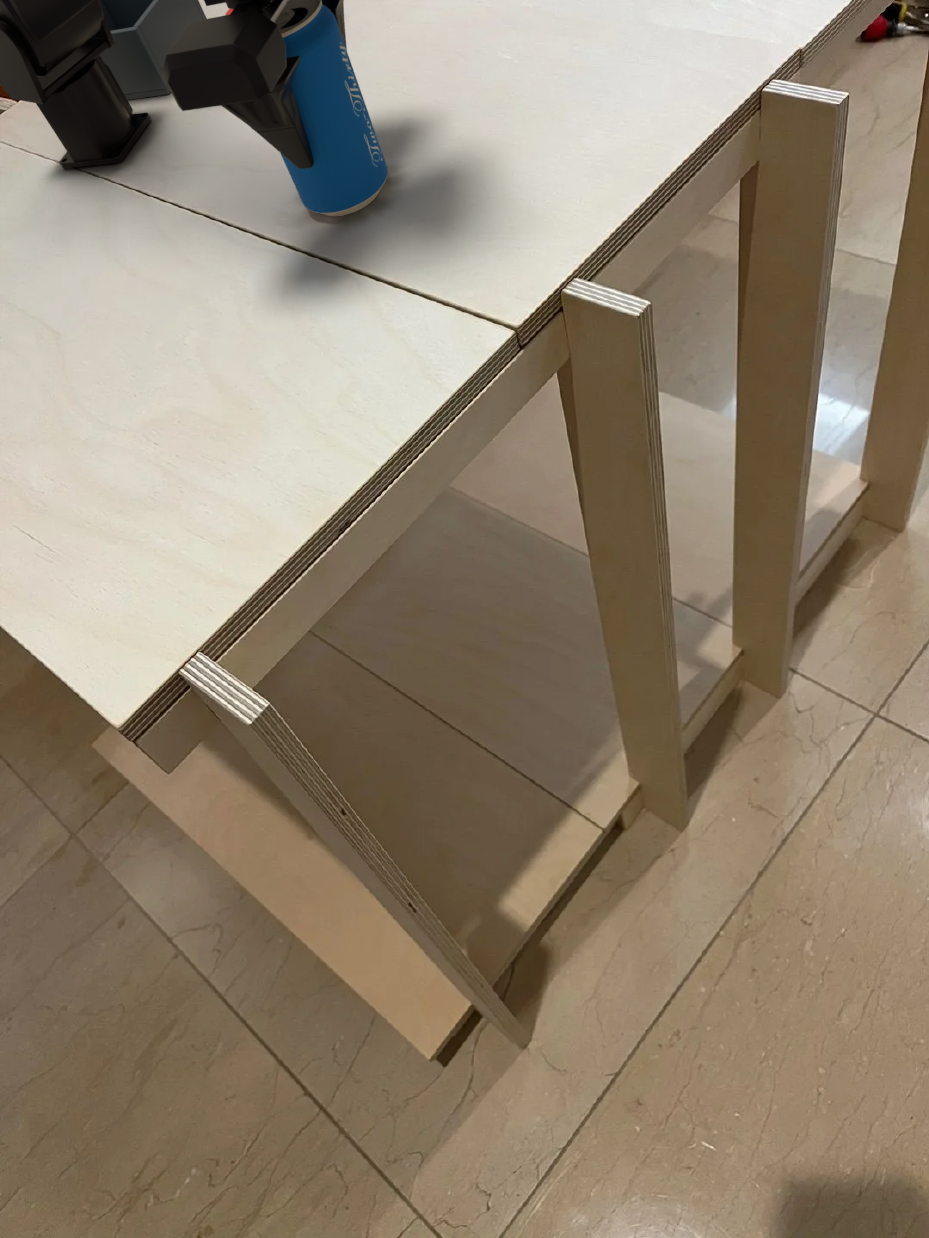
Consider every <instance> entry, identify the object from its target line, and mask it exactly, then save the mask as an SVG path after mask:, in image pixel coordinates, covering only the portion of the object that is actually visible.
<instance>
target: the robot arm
mask: <svg viewBox="0 0 929 1238" xmlns="http://www.w3.org/2000/svg"><path fill="white" fill-rule="evenodd" d="M288 1H289V0H203V2H204V4H205V6H206V7H209V6H215V5H220V4H226V7H227V9H228V10H229V9H233V11H232V12H231V14H230V15H221V16H215V17H210V18H207V19H204V20H199V21H193V22H190V23H189V25H188V26H187V27H186V29H185V30H184V31H183V33H182V34H181V35H180V37H179V38H178V39H177V41H176V42H175V44H174V45H173V46H172V48H171V49H170V50H169V52H168V53H167V54H166V57H165V62H164V66H163V70H162V76H163V78H164V80H165V82H166V84H167V85H168V87H169V89H170V91H171V93H170V94H171V95H172V97H173V99H174V101H175V103H176V104H177V106H178V108H179V109H180V110H181V111H182V112H184V111H185V112H187V111H193V110H199V109H200V110H201V109H207V108H212V107H222V108H223V109H225V110H227V111H228V112H229V113H230V114H232V115H234V116H235V117H236V118H238V119H239V120H240V121H242V122H243V123H244V124H246V125H247V126H248V127H250V128H251V130H253V131H254V132H255V133H257V134H258V135H259V136H260V137H262V139H264V140H265V141H266V142H267V143H269V144H270V146H272V147H273V148H274V149H275V150H276V151H278V152H279V153H280V155H281V154H282V155H284V156H285V157H286V158H287V159H288V160H289V161H291V162H292V163H293V164H294V165H295V166H296V167H298V168H299V169H306V168H312V166H313V165H314V159H313V155H312V151H311V147H310V143H309V140H308V137H307V134H306V131H305V128H304V125H303V122H302V118H301V115H300V112H299V109H298V106H297V103H296V100H295V97H294V94H293V91H292V87H291V84H292V81H293V78H294V75H295V73H296V70H297V67H298V65H299V62H300V56H293V57H287V58H286V44H285V42H284V39H283V37H282V35H281V32H280V30H279V27H278V25H277V24H276V23H275V21H276V20H277V18H278V16H279V15H280V13H281V12H282V10H283V9H284V7H285V6H286V4H287V3H288ZM344 1H345V0H322V4H323V5H325V6H326V7H327V8H329V9H330V10H331V12H332V13H333V14H334V16H335V19H336V21H337V24H338V27H339V30H340V33H341V36H342V39H343V42H344V44H345V47H346V50H347V51H348V47H347V37H346V25H345V8H344V7H345V6H344ZM113 45H115V43H114V40H113V37H112V34H111V31H110V28H109V25H108V22H107V19H106V16H105V14H104V11H103V8H102V5H101V2H100V0H0V87H1V88H2V89H3V90H4V92H6V94H7V95H8V97H10V99H12V100H15V101H20V102H21V101H22V102H26V103H33V104H35V105H36V106H37V107H38V109H39V111H40V112H41V114H42V115H43V117H44V118H45V120H46V121H47V123H48V125H49V126H50V128H51V129H52V131H53V132H54V134H55V135H56V137H57V138H58V140H59V142H60V143H61V144H62V146H63V148H64V149H65V151H66V152H65V154H64V155H62V158H61V159H60V160H59V165H60V166H61V168H62V169H71V168H81V167H89V166H90V167H91V166H98V165H108V164H117V163H119V162H121V161H123V159H124V158H125V157H126V155H127V154H128V152H129V151H130V149H131V148H132V147H133V145H134V144H135V142H136V141H137V140H138V138H139V136H140V135H141V134H142V133H143V131H144V130H145V128H146V127H147V125H148V124H149V122H150V121H151V119H152V118H151V115H150V114H149V113H148V112H138V113H133V112H134V109H133V107H132V106H131V104H130V101H129V100H127V98H126V97H125V95H124V93H123V91H122V90H121V88H120V86H119V84H118V82H117V81H116V79H115V77H114V75H113V74H112V72H111V70H110V68H109V67H108V65H107V64H104V62H103V60H102V58H101V56H100V54H102V53H103V52H104V51H105V50H107V49H108V48H111V47H112V46H113Z"/></svg>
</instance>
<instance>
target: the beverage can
mask: <svg viewBox="0 0 929 1238" xmlns="http://www.w3.org/2000/svg"><path fill="white" fill-rule="evenodd" d="M275 23H276V24H277V25H278V27H279V30H280V32H281V35H282V37H283V39H284V42H285V44H286V58H287V57H293V56H300V62H299V65H298V67H297V70H296V73H295V75H294V78H293V81H292V84H291V87H292V91H293V94H294V97H295V100H296V103H297V106H298V109H299V112H300V115H301V118H302V122H303V125H304V128H305V131H306V134H307V137H308V140H309V143H310V147H311V151H312V155H313V159H314V165H313V166H312V168H306V169H299V168H298V167H296V166H295V165H294V164H293V163H292V162H291V161H289V160H288V159H287V158H286V157H285V156H284V155H282V154H281V153H280V156H281V157H282V160H283V162H284V165H285V166H286V169H287V171H288V173H289V175H290V178H291V180H292V182H293V185H294V187H295V189H296V191H297V194H298V196H299V198H300V200H301V202H302V204H303V206H304V207H305V208H306V209H307V210H309V211H311V212H313V213H317V214H321V215H323V216H327V217H343V216H346V215H350V214H353V213H355V212H358V211H360V210H361V209H364V208H365V207H367V206H368V205H369V204H371V203H372V202H373V201H374V200H375V199H376V197H377V196H378V195H379V193H380V191H381V189H382V188H383V186H384V185H385V183H386V181H387V178H388V175H389V170H388V165H387V162H386V159H385V157H384V154H383V150H382V148H381V144H380V142H379V140H378V137H377V134H376V133H377V132H376V131H375V128H374V125H373V122H372V119H371V117H370V113H369V110H368V108H367V105H366V102H365V99H364V97H363V93H362V91H361V88H360V85H359V82H358V79H357V76H356V73H355V71H354V68H353V64H352V61H351V59H350V56H349V53H348V49H347V50H346V47H345V44H344V42H343V39H342V36H341V33H340V30H339V27H338V24H337V21H336V19H335V16H334V14H333V13H332V12H331V10H330V9H329V8H327V7H326V6H325V5H323V4H322V0H289V1H288V3H287V4H286V6H285V7H284V9H283V10H282V12H281V13H280V15H279V16H278V18H277V20H276V21H275Z"/></svg>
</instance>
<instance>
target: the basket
mask: <svg viewBox="0 0 929 1238" xmlns="http://www.w3.org/2000/svg"><path fill="white" fill-rule="evenodd" d="M100 2H101V5H102V8H103V11H104V14H105V16H106V19H107V22H108V25H109V28H110V31H111V34H112V37H113V40H114V43H115V45H113V46H112V47H111V48H108V49H107V50H105V51H104V52H103V53H102V54H100V56H101V58H102V60H103V62H104V64H107V65H108V67H109V68H110V70H111V72H112V74H113V75H114V77H115V79H116V81H117V82H118V84H119V86H120V88H121V90H122V91H123V93H124V95H125V97H126V98H127V100H128V101H131V100H137V99H146V98H152V97H160V96H167V95H170V94H172V93H171V91H170V89H169V87H168V85H167V84H166V82H165V80H164V78H163V76H162V70H163V66H164V62H165V57H166V54H167V53H168V52H169V50H170V49H171V48H172V46H173V45H174V44H175V42H176V41H177V39H178V38H179V37H180V35H181V34H182V33H183V31H184V30H185V29H186V27H187V26H188V25H189V23H190V22H193V21H199V20H204V19H208V18H207V16H206V13H205V11H204V9H203V7H202V5H201V3H200V0H100Z"/></svg>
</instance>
